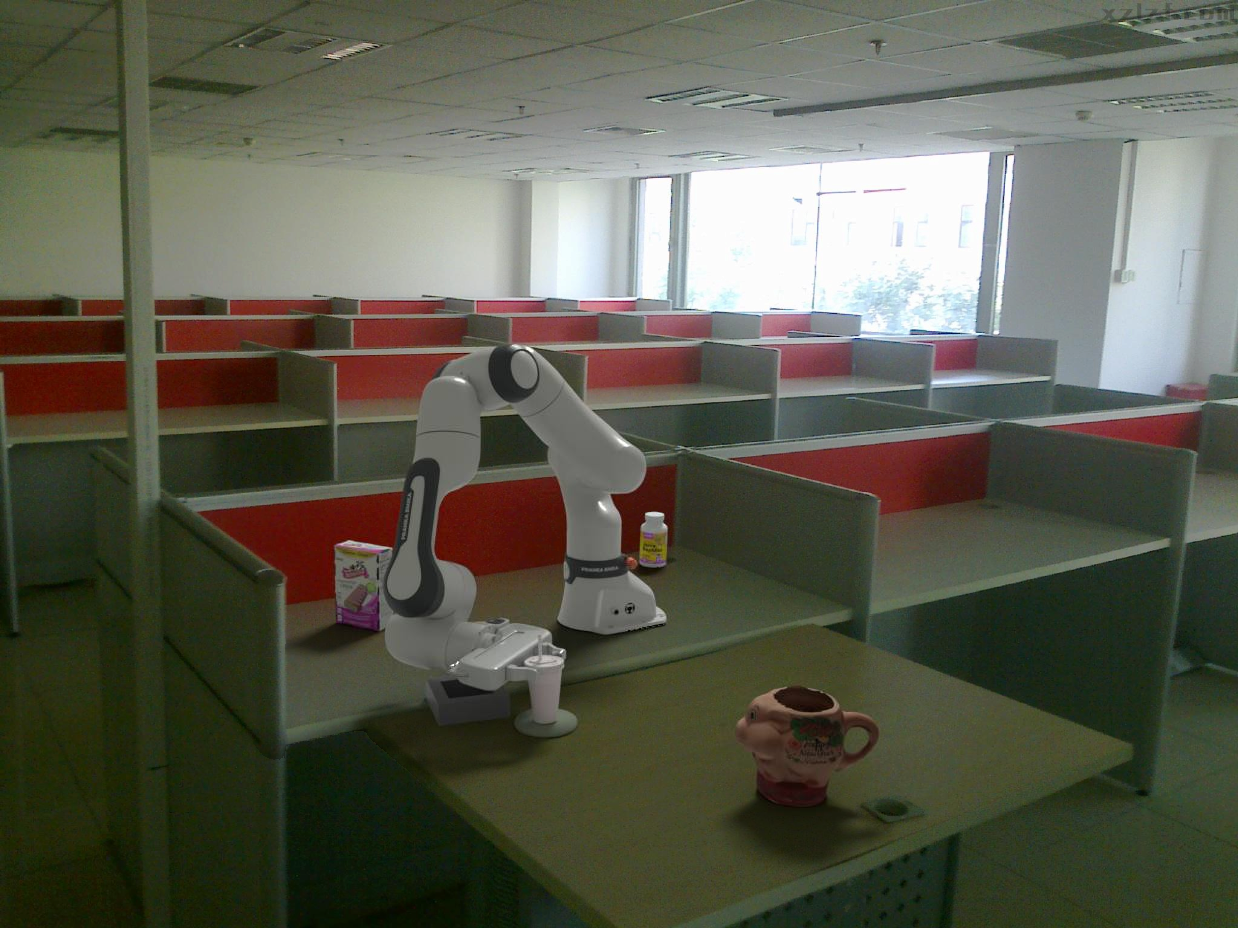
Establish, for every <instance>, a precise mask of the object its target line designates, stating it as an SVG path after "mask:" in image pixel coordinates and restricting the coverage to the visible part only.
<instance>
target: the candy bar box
mask: <svg viewBox="0 0 1238 928" xmlns="http://www.w3.org/2000/svg"><path fill="white" fill-rule="evenodd" d="M393 550H394V547H389V546H384V545H379V544H373V543H367V542H362V541H361V542H360V541H355V540H349V539H348V540H346V541H342V542H340V543H336V544H334V545H333V552H334V553H333V556H334V557H333V558H334V560H333V561H334V592H335V593H334V594H335V595H334V596H335V597H334V598H335V599H334V601H335V602H334V603H335V605H334V606H335V623H338V624H342V625H346V626H351V627H355V628H360V629H365V630H371V631H376V632H382V631H384V630H385V629H386V625H387V622H388V620H389V619H390V618H391V617H392V616H393V615H394V611H393V610H392V609H391V608H390V607H389V605H388V604H387V602H386V599H385V597H384V592H383V580H384V576H385V572H386V569H387V567H388V564H389V562H390V559H391V557H392V554H393Z"/></svg>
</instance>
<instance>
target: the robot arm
mask: <svg viewBox="0 0 1238 928" xmlns="http://www.w3.org/2000/svg"><path fill="white" fill-rule="evenodd" d="M506 406H511V407H512V408H513V409H514V410H515V412H516V413H517V415H519V417H521V419H522V420H523V421H524V422H525V424H526V425H527V426H528V427H529V428H530V429H531V430H532V432H533V433H534V434H535V436H537V438H539V439H540V440H541V442H543V443H544V444H545V445H546V446H548V450H547V460H548V464H549V466H550V468H551V470H552V471H553V472H554V473H553V474H555V476H556V479H557V481H558V484H559V487H560V492H561V495H562V499H563V503H564V504H563V505H564V509H565V515H566V552H565V553H564V561H563V579H564V588H563V589H564V591H563V597H562V601H561V605H560V610H559V614H558V616H557V621H558V622H559V623H560V624H561V625H563V626H564V627H567V628H570V629H574V630H580V631H587V632H592V633H595V634H599V635H613V634H617V633H618V634H619V633H623V632H628V630H630V631H633V630H634V629H635V630H639V628H641V629H643V628H642V627H646V628H648V627H647V626H652V625H655V624H661V623H665V622H666V623H667V621H666V620H667V615H666V612H664V610H662V609H661V608H659V607H658V606H657V605H656V597H655V594H654V592H653V590H652V589H651V587H650V586H649V585H647V584H646V583H645V582H644V581H643V580H642V579H640V578H639V577H638V576H636V575H635V574H634V573H633V572H631V571H630V570H629V569H631V570H634V569H636V567H637V566H638V561H637V559H634V558H633V557H632V556H630V557H629V556H627V555H626V554H625V553H622V552H621V551H622V549H621V548H622V516H621V515H620V512H619V510H618V509H617V508H616V506H615V503H614V501H613V499H612V496H611V495H612V494H614V495H619V494H630V493H632V492H634V491H635V490H637V489H638V488H639V487H640V486H641V485H642V483H643V481H644V479H645V477H646V474H647V461H646V458H645V457H646V456H645V455H644V453H643V452H642V450H640V449H639V448H638V447H636V446H635V445H633V444H632V443H631V442H629V441H627V439H625V438H624V437H623V436H622V435H621V434H619V433H618V432H617V431H616V430H615V429H614V428H613V427H611V425H609V424H608V423H607V422H606V421H604V419H602V418H601V416H599V415H597V413H595V412H594V411H593V410H592V409H590V408H589V406H587V405H586V403H584V402H583V400H582V399H581V398H580V397H579V395H578V393H576V392H575V391H574V390H573V388H572V387H571V386H570V385H569V383H568V382H567V381H566V380H565V378H564V377H563V375H562V374H560V372H558V370H557V369H556V368H555V367H554V366H553V365H552V364H551V363H550V362H549V361H548V360H547V359H546V358H545V357H543V356H542V355H541V354H540V353H539V352H537V351H536V350H535V349H534V348H532V347H531V346H528V345H524V344H522V345H521V344H516V343H502V344H499V345H497V346H495V347H488V348H487V347H486V348H483V349H479V350H475V351H472V352H471V353H468V354H466V355H464V356H461V357H459V358H457V359H451V360H449V361H447V362H445V363H444V364H442V365H441V366H439V367H438V368H437V369H436V371H435V372H434V374H433V375H432V378H431V380H430V381H429V382H428V383H426V385H425V387H424V389H423V391H422V395H421V398H420V404H419V409H418V414H417V422H416V433H415V448H414V455H413V461H412V464H411V465H410V466H409V468H408V470H407V473H406V476H405V480H404V482H403V483H404V484H403V488H402V495H401V501H400V505H399V506H400V508H399V514H398V521H397V528H396V535H395V541H394V547H393V554H392V557H391V559H390V562H389V564H388V567H387V569H386V572H385V576H384V580H383V592H384V597H385V599H386V602H387V604H388V605H389V607H390V608H391V609H392V610H393V616H392V617H391V618H390V619H389V620H388V622H387V625H386V629H384V630H385V631H384V641H385V646H386V649H387V651H388V652H389V654H390V655H391V656H392V657H393V658H394V659H396V660H397V661H398V662H401V663H404V664H405V665H409V666H413V667H416V668H419V669H425V670H428V671H438V670H439V671H445V672H446V673H447V674H448V676H452V677H457V678H458V679H459V681H460V682H461V683H463V684H466V685H468V686H472V687H475V688H479V689H482V690H487V691H490V690H497V689H498V688H500V687H501V686H502V685H503V686H504V685H505V684H507V683H508V682H509V681H510V682H519V681H528V680H529V681H536V680H537V679H539V678H540V672H541V670H540V668H538V667H534V666H530V667H524V661H525V660H526V659H528V658H530V657H533V656H539V655H538V634H541V637H542V655H553V656H558V657H561V658H562V659H563V660H564V661H565V660H566V658H567V651H566V649H564V648H561V647H557V646H555V645H553V636H552V633H551V631H549V630H548V629H546V628H542V627H540V626H539V627H538V626H535V625H531V624H524V623H518V622H517V623H516V622H515V623H513V622H512V623H510V619H508V618H504V617H498V618H495V619H490V620H487V621H486V620H485V621H474V622H473V621H470V618H471V616H472V615H473V611H474V607H475V604H476V600H477V595H478V585H477V584H478V583H477V580H476V578H475V575H474V574H473V572H472V571H471V570H470V569H469V568H468V567H467V566H466V565H463V564H459V563H455V562H452V561H447V560H441V559H439V558H437V556H436V553H435V542H436V536H437V535H436V533H437V525H438V519H439V509H440V506H441V503H442V501H443V499H444V498H445V496H447V494H449V493H451V492H454V491H457V490H459V489H461V488H463V487H464V486H466V485H467V484H469V483H470V482H471V481H472V480H473V479H474V477H475V476H476V475H477V473H478V468H479V464H480V461H481V460H480V459H481V436H482V435H481V431H482V429H481V427H482V426H481V414H485V413H488V412H493V411H495V410H497V409H501V408H504V407H506ZM394 613H395V614H394ZM666 623H665V624H666ZM652 627H653V626H652Z"/></svg>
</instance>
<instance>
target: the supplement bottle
mask: <svg viewBox="0 0 1238 928" xmlns="http://www.w3.org/2000/svg"><path fill="white" fill-rule="evenodd" d="M644 520H645V522H644V523H642V524H641V526H640V535H639V537H640V538H639V540H640V541H639V559H638V560H639V564H640V565H641V566H642V567H646V568H654V569H655V568H656V569H657V567H658V568H662V567H665V566H666V564H667V552H668V551H667V550H668V525H666V524H665V523H664V520H665V514H664V513H663V512H658V511H651V512H650V511H649V512H645V514H644Z"/></svg>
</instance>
